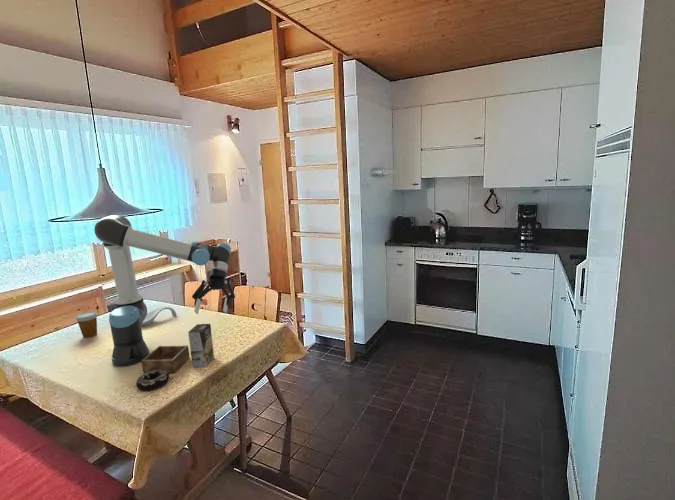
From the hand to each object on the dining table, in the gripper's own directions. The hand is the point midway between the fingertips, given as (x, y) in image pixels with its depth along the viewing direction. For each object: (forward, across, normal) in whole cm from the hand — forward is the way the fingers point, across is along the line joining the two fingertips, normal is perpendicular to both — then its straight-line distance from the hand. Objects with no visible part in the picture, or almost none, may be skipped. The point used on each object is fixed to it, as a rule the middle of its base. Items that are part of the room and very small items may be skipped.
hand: (210, 312), depth 169 cm
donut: (+34, +14, +7) cm, 37 cm away
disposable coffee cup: (0, +76, -26) cm, 81 cm away
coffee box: (+22, +1, -5) cm, 22 cm away
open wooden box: (+23, +16, -3) cm, 28 cm away
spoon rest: (-14, +51, -40) cm, 67 cm away
